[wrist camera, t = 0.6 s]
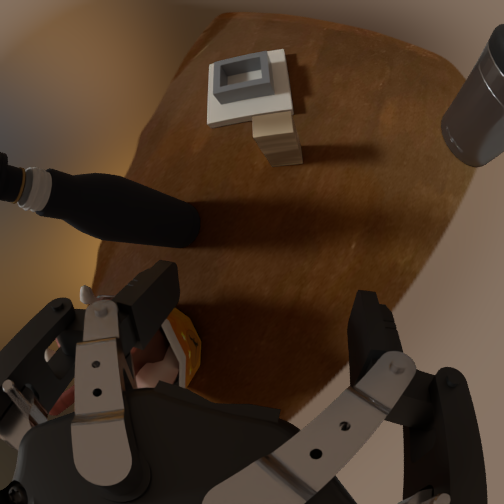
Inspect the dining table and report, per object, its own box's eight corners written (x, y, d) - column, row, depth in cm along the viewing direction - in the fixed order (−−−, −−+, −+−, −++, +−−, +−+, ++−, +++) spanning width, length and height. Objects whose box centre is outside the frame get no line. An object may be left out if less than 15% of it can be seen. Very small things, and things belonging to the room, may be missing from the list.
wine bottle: (196, 251, 37) (-40, 227, 8) (158, 244, 38) (-51, 220, 10) (204, 204, 37) (-12, 113, 8) (165, 201, 38) (-32, 134, 10)
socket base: (293, 114, 34) (288, 97, 29) (211, 128, 37) (197, 114, 33) (285, 54, 34) (279, 36, 30) (212, 69, 38) (201, 54, 33)
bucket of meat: (150, 258, 39) (34, 253, 20) (245, 320, 35) (152, 376, 15) (112, 359, 41) (20, 391, 22) (187, 420, 36) (107, 490, 17)
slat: (302, 163, 33) (293, 132, 25) (271, 166, 34) (253, 137, 26) (301, 145, 33) (290, 111, 25) (270, 149, 34) (252, 116, 26)
